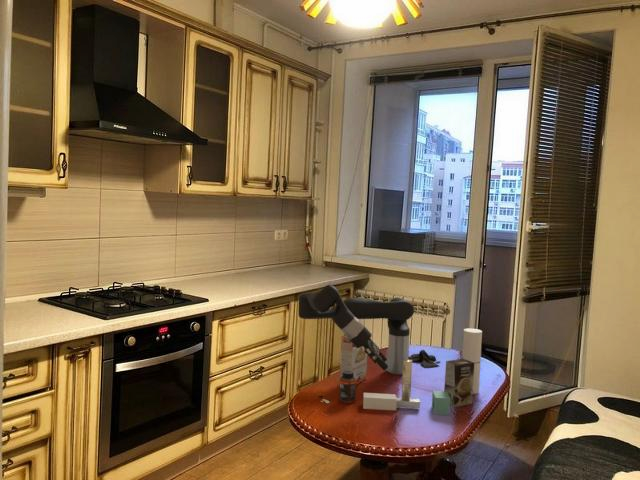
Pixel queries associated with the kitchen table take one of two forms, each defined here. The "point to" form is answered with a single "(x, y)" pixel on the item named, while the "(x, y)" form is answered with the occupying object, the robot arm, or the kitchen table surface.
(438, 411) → the socket
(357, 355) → the cracker box
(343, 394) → the supplement bottle
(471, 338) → the cylindrical container
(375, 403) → the sleeve
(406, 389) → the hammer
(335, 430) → the kitchen table surface
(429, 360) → the cloth
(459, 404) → the coffee box
